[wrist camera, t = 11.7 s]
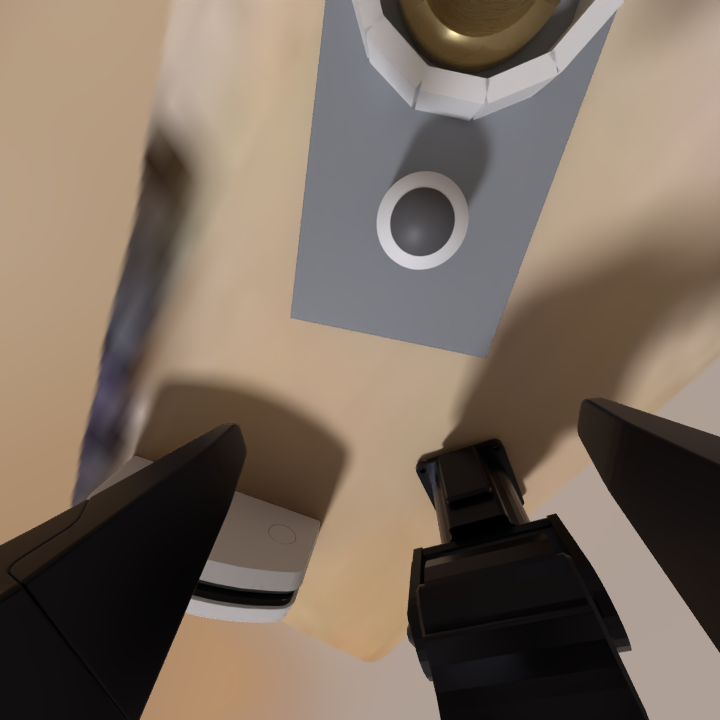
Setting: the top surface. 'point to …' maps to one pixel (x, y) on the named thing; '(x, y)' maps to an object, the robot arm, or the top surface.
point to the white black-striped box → (248, 558)
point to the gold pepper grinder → (473, 30)
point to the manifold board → (416, 145)
